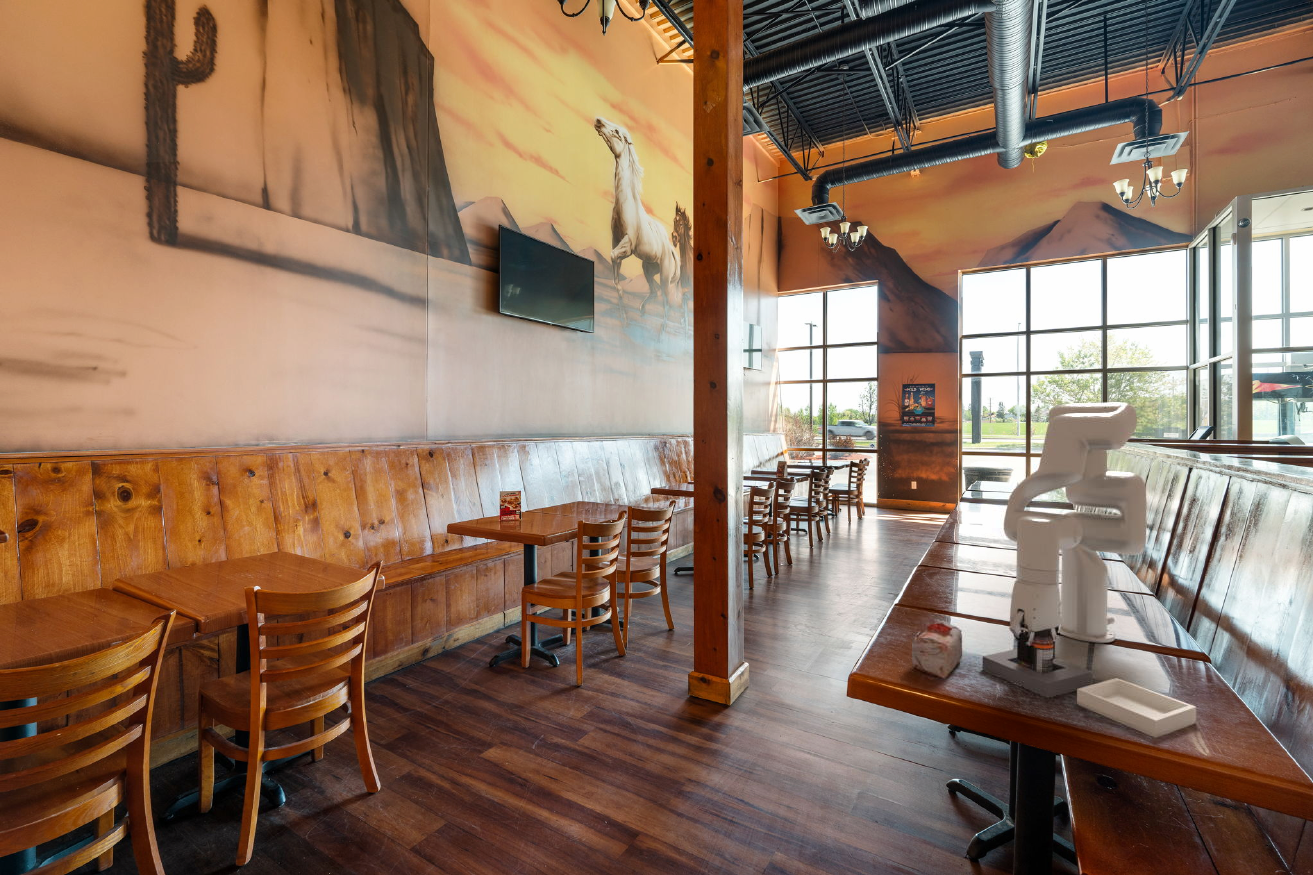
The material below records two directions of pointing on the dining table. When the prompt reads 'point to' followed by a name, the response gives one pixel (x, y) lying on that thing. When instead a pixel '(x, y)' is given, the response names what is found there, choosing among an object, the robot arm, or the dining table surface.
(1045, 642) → the supplement bottle
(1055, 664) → the frame
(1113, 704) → the tray
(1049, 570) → the robot arm
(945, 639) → the food item
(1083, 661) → the dining table surface
